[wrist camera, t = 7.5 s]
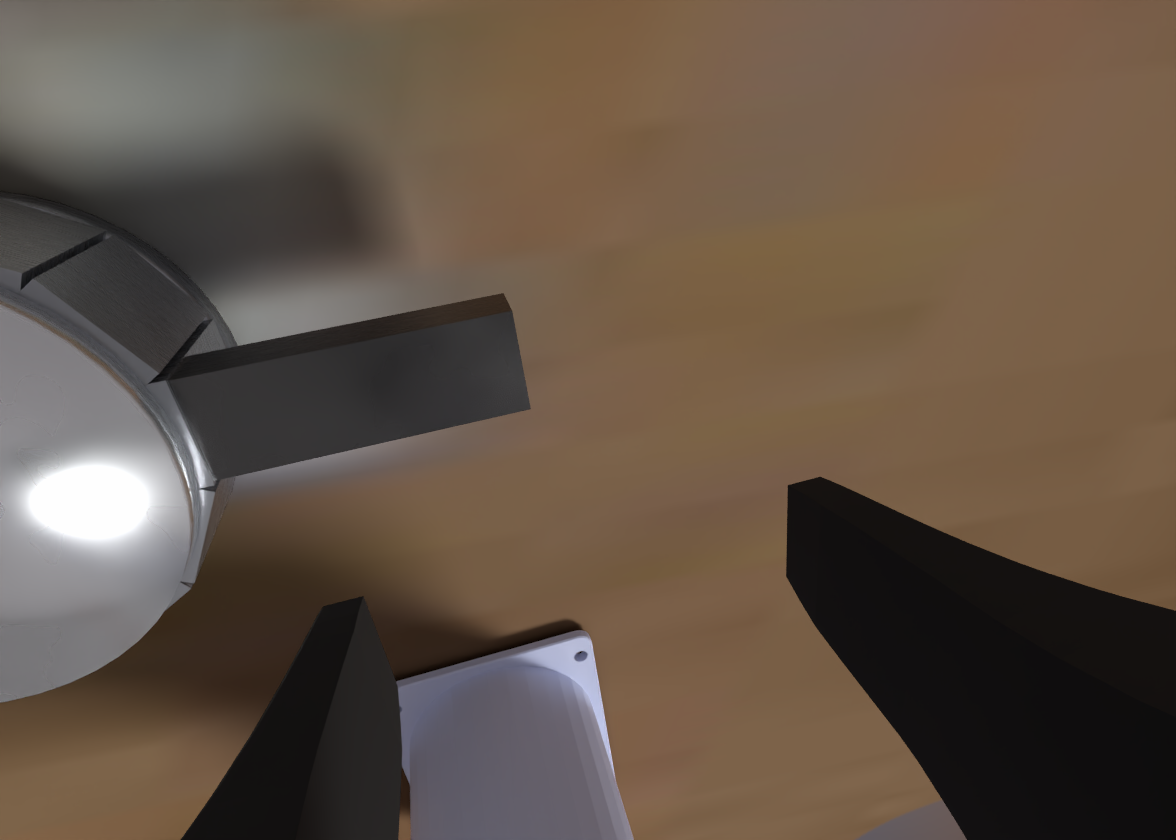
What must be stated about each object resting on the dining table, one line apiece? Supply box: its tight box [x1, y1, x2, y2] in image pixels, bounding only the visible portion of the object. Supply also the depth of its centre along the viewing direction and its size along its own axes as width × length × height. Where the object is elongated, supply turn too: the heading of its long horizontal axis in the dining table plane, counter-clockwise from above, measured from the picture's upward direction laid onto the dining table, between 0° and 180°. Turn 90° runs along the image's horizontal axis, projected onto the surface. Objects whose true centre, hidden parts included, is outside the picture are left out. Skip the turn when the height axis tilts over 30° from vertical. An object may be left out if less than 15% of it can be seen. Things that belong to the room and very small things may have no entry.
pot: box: [0, 191, 531, 611], centre depth 16 cm, size 10×20×5 cm, turn 97°
